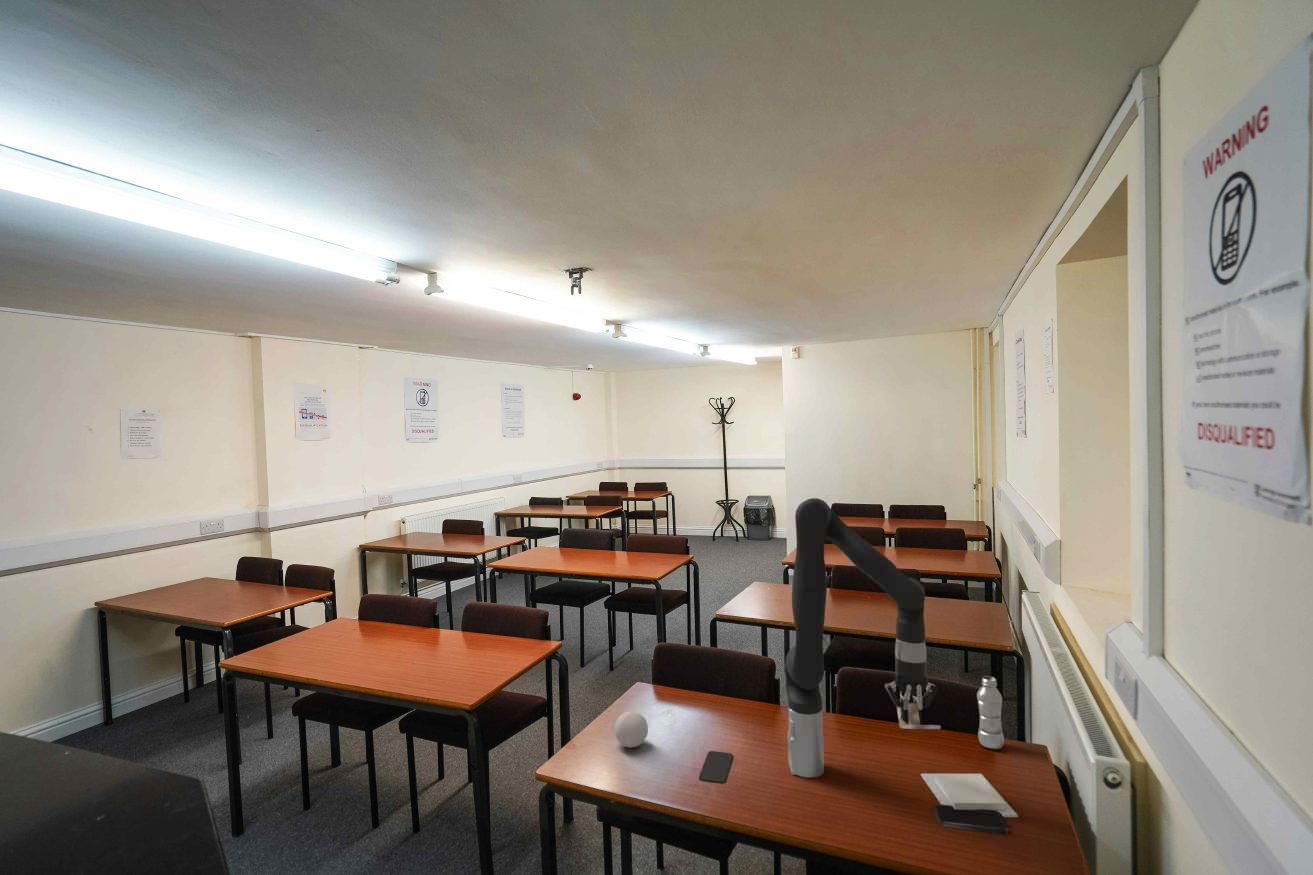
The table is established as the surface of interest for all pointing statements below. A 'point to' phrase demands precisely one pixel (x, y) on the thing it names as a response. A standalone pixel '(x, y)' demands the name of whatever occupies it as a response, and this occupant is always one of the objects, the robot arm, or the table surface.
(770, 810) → the table surface
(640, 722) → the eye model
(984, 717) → the plastic bottle
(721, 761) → the phone
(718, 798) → the table surface
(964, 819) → the phone
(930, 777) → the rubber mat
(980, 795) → the tile
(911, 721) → the scraper
